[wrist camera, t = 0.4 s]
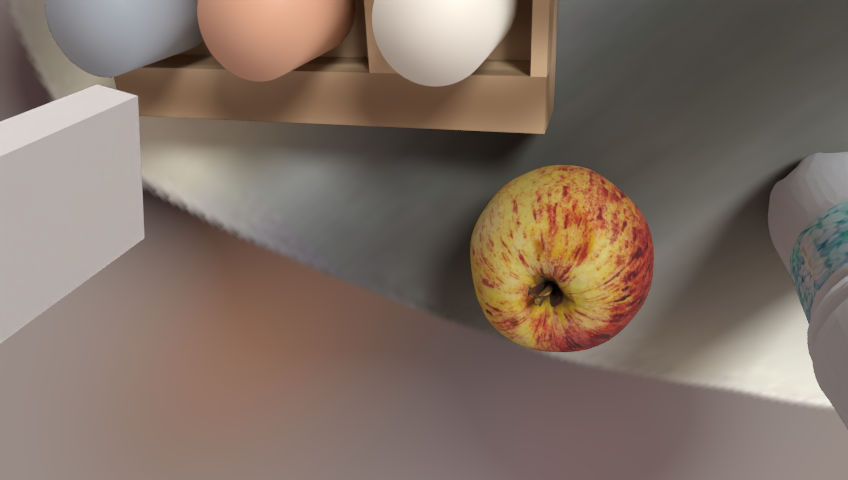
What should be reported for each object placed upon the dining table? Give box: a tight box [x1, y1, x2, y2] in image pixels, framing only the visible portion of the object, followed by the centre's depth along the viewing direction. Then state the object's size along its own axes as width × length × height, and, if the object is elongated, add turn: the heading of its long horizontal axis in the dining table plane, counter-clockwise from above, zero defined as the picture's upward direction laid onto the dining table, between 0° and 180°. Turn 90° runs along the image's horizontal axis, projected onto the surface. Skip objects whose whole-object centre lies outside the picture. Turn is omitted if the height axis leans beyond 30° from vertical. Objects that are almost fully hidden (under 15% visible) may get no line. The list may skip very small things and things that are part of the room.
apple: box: [470, 165, 654, 352], centre depth 35 cm, size 9×9×10 cm
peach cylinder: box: [197, 0, 356, 82], centre depth 32 cm, size 5×5×6 cm
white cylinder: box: [372, 0, 518, 87], centre depth 29 cm, size 5×5×6 cm
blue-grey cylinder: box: [45, 0, 204, 77], centre depth 34 cm, size 5×5×6 cm
